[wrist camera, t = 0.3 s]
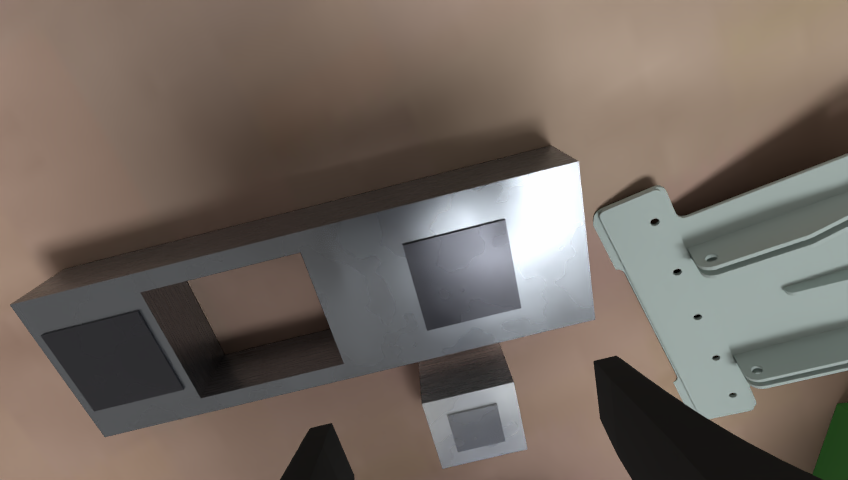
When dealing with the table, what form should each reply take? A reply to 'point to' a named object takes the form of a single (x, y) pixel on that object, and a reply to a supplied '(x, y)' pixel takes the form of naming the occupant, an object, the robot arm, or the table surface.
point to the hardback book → (835, 448)
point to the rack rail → (327, 292)
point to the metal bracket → (741, 283)
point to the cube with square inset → (471, 405)
